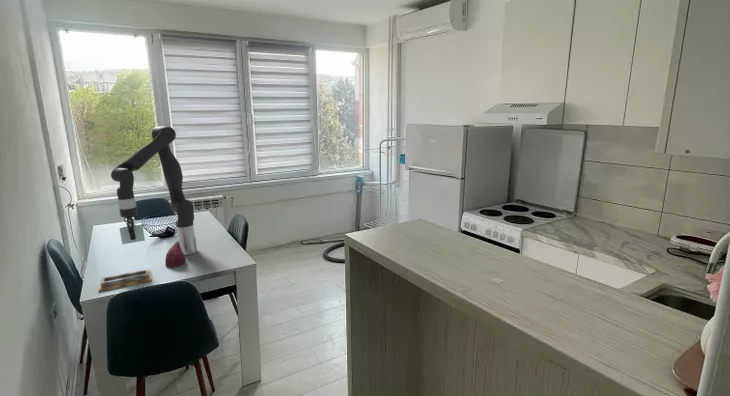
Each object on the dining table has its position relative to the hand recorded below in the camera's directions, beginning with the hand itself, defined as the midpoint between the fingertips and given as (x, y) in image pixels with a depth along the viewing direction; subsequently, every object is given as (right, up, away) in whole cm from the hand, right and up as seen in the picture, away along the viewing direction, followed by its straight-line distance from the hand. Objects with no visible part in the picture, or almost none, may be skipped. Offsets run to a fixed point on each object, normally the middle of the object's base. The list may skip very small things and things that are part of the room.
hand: (133, 238), depth 194 cm
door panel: (0, -2, 0) cm, 2 cm away
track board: (+2, -21, -8) cm, 22 cm away
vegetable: (+16, -16, +13) cm, 26 cm away
